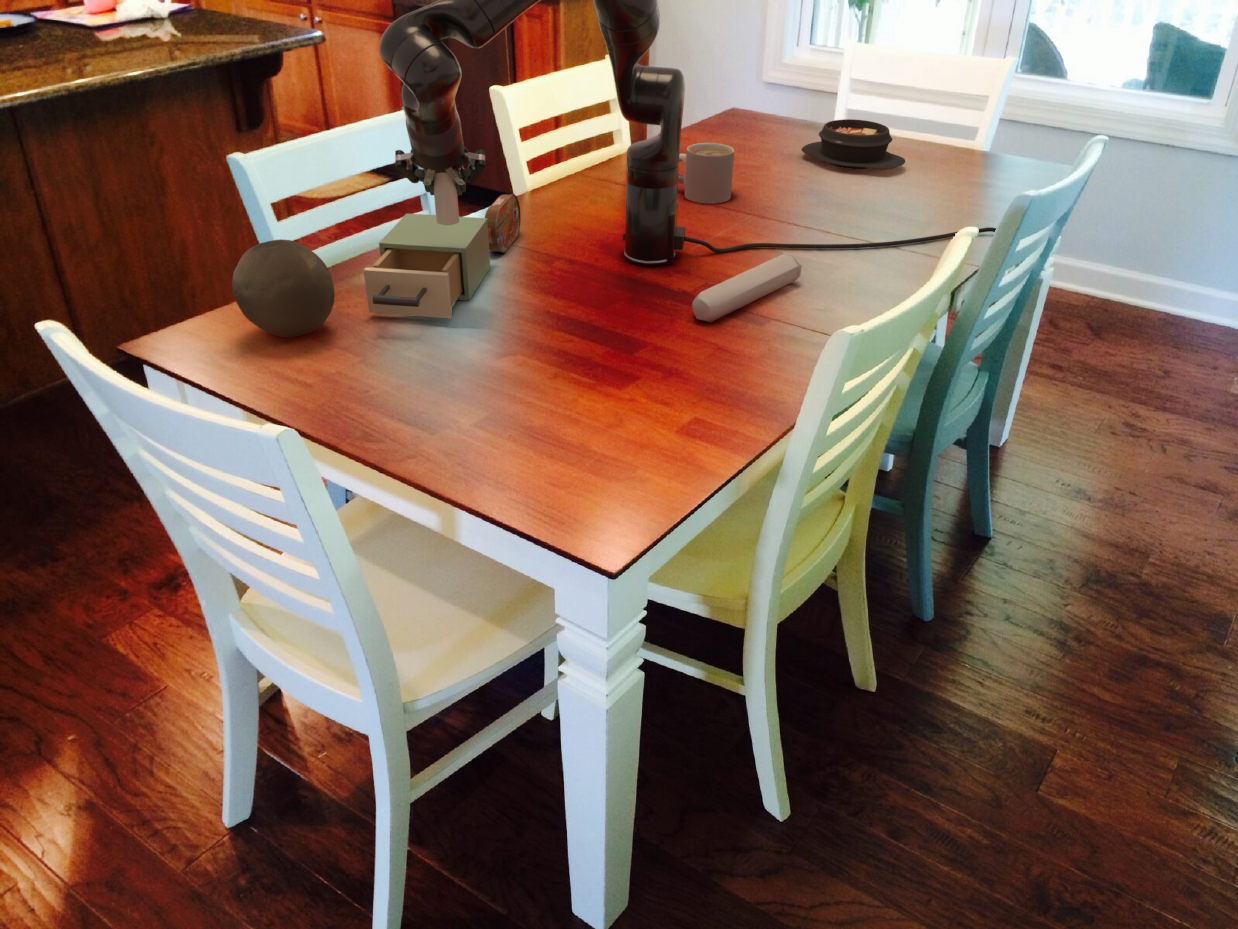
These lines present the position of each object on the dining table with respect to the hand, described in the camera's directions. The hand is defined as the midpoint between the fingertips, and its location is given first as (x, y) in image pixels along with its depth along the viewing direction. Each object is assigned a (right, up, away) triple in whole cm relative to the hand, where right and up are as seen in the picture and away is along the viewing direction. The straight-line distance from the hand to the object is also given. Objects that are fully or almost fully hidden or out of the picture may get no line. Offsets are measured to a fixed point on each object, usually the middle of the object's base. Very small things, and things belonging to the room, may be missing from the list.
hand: (446, 189), depth 157 cm
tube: (+49, -16, +10) cm, 52 cm away
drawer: (-6, -18, +4) cm, 19 cm away
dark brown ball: (-23, -24, -4) cm, 33 cm away
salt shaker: (0, -5, +1) cm, 5 cm away
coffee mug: (+45, +14, +57) cm, 74 cm away
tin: (+6, -2, +31) cm, 31 cm away
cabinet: (-4, -12, +15) cm, 20 cm away
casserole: (+83, +28, +78) cm, 117 cm away
